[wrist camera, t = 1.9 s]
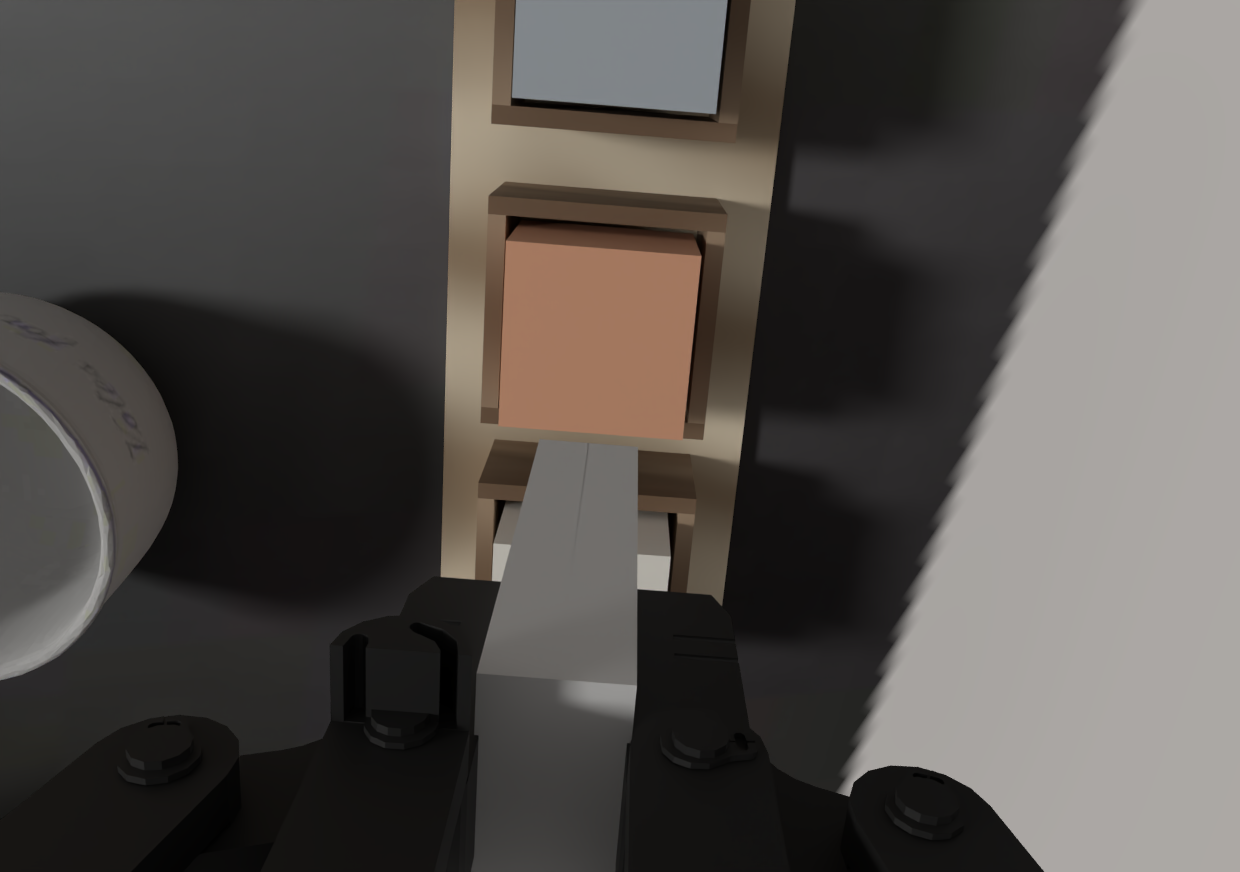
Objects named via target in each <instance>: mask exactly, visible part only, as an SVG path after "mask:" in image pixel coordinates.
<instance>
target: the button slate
mask: <svg viewBox="0 0 1240 872" xmlns="http://www.w3.org/2000/svg"><path fill="white" fill-rule="evenodd" d="M727 1H728V0H516V13H515V37H514V61H513V85H512V98H523V99H536V100H548V101H560V102H573V103H585V104H597V105H610V106H622V107H634V108H647V109H659V110H671V111H684V112H696V113H708V114H716V108H717V99H718V89H719V79H720V69H721V59H722V50H723V40H724V30H725V20H726V10H727Z"/></svg>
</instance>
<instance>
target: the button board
mask: <svg viewBox="0 0 1240 872" xmlns="http://www.w3.org/2000/svg"><path fill="white" fill-rule="evenodd" d="M795 2H796V0H728V1H727V10H726V20H725V30H724V40H723V50H722V59H721V69H720V79H719V89H718V99H717V108H716V114H708V113H696V112H684V111H671V110H659V109H647V108H634V107H622V106H610V105H597V104H585V103H573V102H560V101H548V100H536V99H523V98H512V85H513V61H514V37H515V13H516V0H455V9H454V51H453V93H452V134H451V176H450V217H449V259H448V301H447V342H446V384H445V425H444V467H443V508H442V550H441V577H448V578H461V579H474V580H487V581H492V566H493V543H494V540H495V537H496V533H497V530H498V526H499V523H500V520H501V516H502V513H503V510H504V506H505V503H506V500H509V501H522V502H523V499H524V495H525V491H526V488H527V484H528V480H529V476H530V473H531V469H532V465H533V462H534V458H535V454H536V451H537V447H538V443H539V439H543V440H556V441H569V442H582V443H594V444H607V445H620V446H633V447H638V510H641V511H655V512H667V516H668V528H669V541H670V554H671V559H670V569H669V579H668V588H667V591H668V592H681V593H694V594H707V595H712V596H713V597H714V598H715V599H716V600H717V602H718V603H719V604H720V605H721V606H722V602H723V594H724V586H725V578H726V569H727V561H728V553H729V545H730V537H731V528H732V520H733V512H734V504H735V495H736V487H737V479H738V471H739V463H740V454H741V446H742V438H743V430H744V421H745V413H746V405H747V397H748V389H749V380H750V372H751V364H752V356H753V347H754V339H755V331H756V323H757V314H758V306H759V298H760V290H761V282H762V273H763V265H764V257H765V249H766V240H767V232H768V224H769V216H770V208H771V199H772V191H773V183H774V175H775V166H776V158H777V150H778V142H779V134H780V125H781V117H782V109H783V101H784V92H785V84H786V76H787V68H788V59H789V51H790V43H791V35H792V27H793V18H794V10H795ZM521 220H527V221H540V222H552V223H565V224H577V225H590V226H603V227H615V228H628V229H640V230H653V231H666V232H678V233H691V234H693V235H694V238H695V240H696V243H697V246H698V248H699V251H700V254H701V265H700V275H699V285H698V294H697V304H696V314H695V324H694V334H693V343H692V353H691V363H690V373H689V383H688V392H687V402H686V412H685V422H684V432H683V440H672V439H658V438H645V437H632V436H619V435H606V434H593V433H580V432H567V431H554V430H541V429H528V428H515V427H502V426H498V422H499V398H500V374H501V350H502V326H503V302H504V278H505V254H506V240H507V239H508V237H509V236H510V235H511V234H512V232H513V231H514V230H515V228H516V227H517V226H518V224H519V223H520V222H521Z"/></svg>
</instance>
